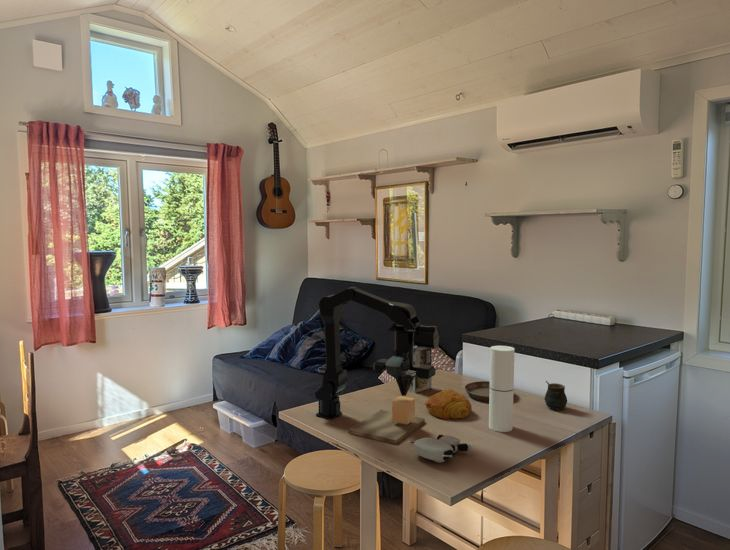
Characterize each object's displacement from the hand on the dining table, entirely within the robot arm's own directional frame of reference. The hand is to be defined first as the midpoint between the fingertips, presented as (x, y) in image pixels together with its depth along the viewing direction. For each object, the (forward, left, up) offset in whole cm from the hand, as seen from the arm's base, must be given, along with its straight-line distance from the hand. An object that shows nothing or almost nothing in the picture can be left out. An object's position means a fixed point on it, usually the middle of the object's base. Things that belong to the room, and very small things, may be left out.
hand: (403, 395), depth 164 cm
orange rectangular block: (0, 0, -8) cm, 8 cm away
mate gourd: (+37, +42, -10) cm, 57 cm away
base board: (-4, -3, -10) cm, 11 cm away
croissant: (+7, +20, -10) cm, 23 cm away
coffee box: (-13, +38, -10) cm, 41 cm away
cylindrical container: (+26, +15, -10) cm, 32 cm away
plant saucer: (+13, +44, -10) cm, 47 cm away
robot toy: (+18, -13, -10) cm, 24 cm away
